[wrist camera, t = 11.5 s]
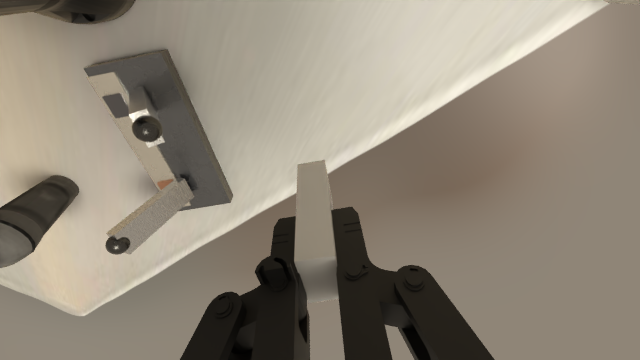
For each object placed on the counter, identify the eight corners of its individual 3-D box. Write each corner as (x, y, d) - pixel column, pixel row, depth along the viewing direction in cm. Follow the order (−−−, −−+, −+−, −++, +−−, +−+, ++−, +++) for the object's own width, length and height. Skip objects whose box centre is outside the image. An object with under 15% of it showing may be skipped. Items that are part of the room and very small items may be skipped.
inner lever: (146, 84, 36) (152, 110, 26) (160, 111, 38) (171, 144, 28) (125, 90, 35) (122, 120, 25) (140, 117, 37) (143, 154, 27)
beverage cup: (54, 204, 49) (-71, 316, 33) (27, 169, 45) (-133, 278, 28) (96, 202, 49) (-8, 312, 33) (73, 166, 45) (-60, 273, 28)
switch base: (167, 49, 36) (158, 53, 34) (233, 195, 49) (229, 204, 47) (92, 64, 36) (79, 69, 34) (178, 204, 50) (172, 214, 48)
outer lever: (186, 178, 43) (106, 244, 34) (196, 196, 45) (123, 263, 36) (175, 177, 44) (94, 240, 35) (185, 194, 46) (111, 258, 37)
